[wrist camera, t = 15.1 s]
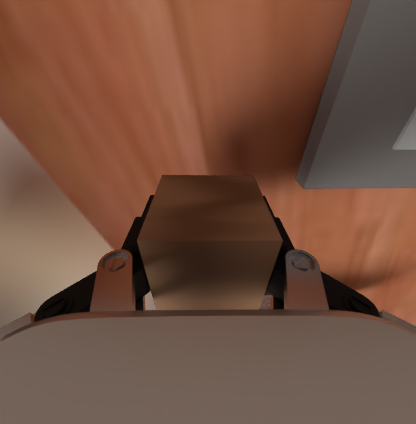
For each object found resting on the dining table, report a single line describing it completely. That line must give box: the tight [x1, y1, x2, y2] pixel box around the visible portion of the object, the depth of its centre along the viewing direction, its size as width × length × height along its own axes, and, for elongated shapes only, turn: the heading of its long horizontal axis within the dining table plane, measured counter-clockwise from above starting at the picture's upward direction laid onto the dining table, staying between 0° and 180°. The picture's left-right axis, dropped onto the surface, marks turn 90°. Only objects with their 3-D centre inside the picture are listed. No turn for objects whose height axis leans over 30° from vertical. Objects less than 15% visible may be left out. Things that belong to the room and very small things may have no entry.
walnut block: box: [137, 175, 283, 310], centre depth 10 cm, size 5×5×5 cm
